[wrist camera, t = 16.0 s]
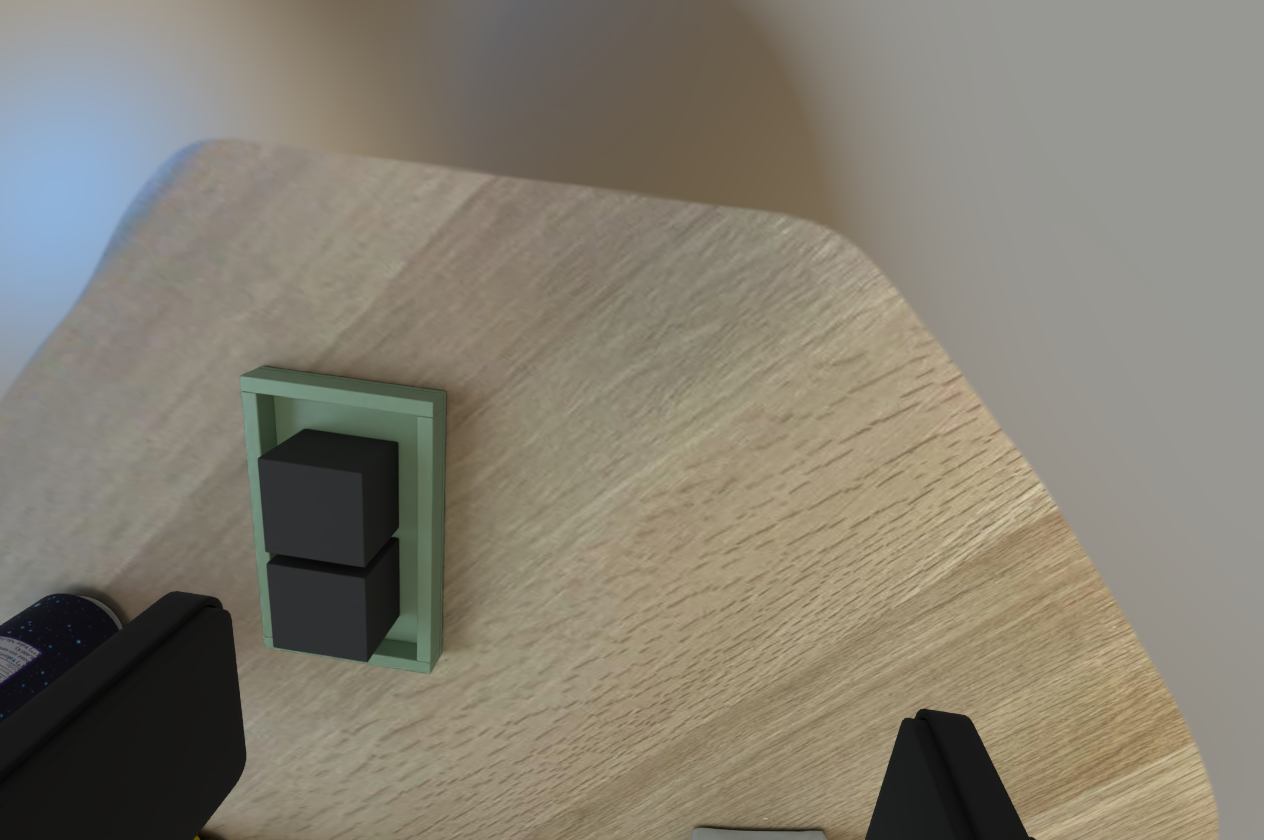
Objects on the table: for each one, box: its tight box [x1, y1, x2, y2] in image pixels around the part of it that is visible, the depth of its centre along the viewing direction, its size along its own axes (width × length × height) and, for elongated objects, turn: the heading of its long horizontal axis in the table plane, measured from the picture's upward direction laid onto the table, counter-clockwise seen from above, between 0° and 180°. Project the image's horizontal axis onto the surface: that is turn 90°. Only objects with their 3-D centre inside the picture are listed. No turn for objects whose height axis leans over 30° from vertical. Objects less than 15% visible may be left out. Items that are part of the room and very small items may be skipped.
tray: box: [240, 366, 446, 674], centre depth 36 cm, size 16×10×2 cm, turn 174°
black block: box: [266, 537, 400, 662], centre depth 36 cm, size 5×5×4 cm
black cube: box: [257, 429, 399, 567], centre depth 34 cm, size 5×5×4 cm
